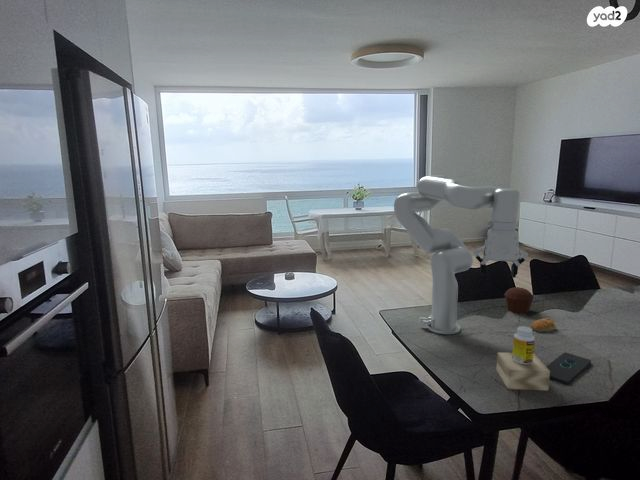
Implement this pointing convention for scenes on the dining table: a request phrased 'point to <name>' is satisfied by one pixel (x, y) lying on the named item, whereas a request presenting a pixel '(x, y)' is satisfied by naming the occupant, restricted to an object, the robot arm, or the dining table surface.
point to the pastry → (543, 325)
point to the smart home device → (567, 368)
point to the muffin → (518, 300)
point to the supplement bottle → (523, 345)
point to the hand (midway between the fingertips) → (497, 275)
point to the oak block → (523, 373)
